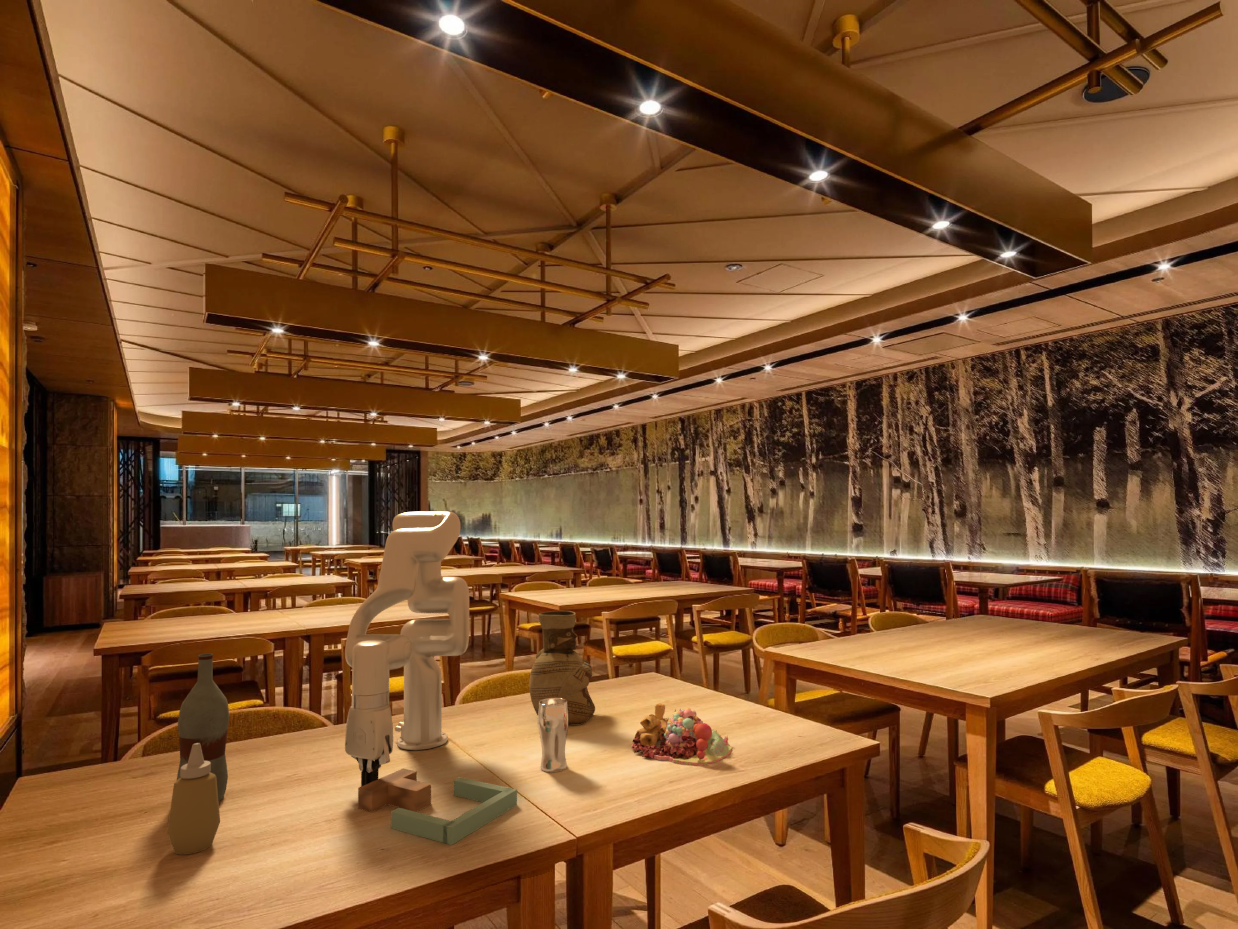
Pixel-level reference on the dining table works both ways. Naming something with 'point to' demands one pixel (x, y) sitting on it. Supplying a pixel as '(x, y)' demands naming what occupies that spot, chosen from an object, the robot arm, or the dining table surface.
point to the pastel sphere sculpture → (679, 738)
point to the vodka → (205, 723)
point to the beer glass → (553, 733)
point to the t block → (395, 792)
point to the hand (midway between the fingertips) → (369, 788)
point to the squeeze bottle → (194, 806)
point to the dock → (453, 831)
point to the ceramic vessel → (561, 668)
